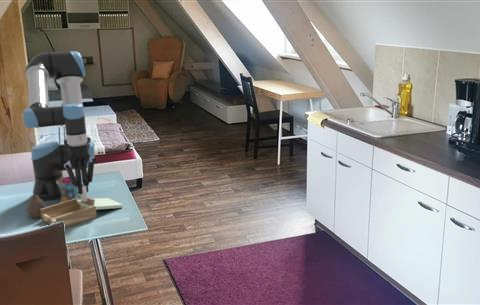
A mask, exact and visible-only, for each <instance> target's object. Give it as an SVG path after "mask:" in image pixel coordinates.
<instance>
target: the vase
mask: <svg viewBox="0 0 480 305" xmlns="http://www.w3.org/2000/svg"><path fill="white" fill-rule="evenodd" d="M45 207H47V205H46V204H45V201H44V200H41V199H40V198H39V197H38V196H37V195H34V196H33V195H32V196H31V197H30V200H29V201H28V202H27V205H26V212H27V214H28V216H29V217H30V218H32V219H36V220H37V219H42V218H41V211H40V209H42V208H45Z"/></svg>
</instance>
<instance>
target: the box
mask: <svg viewBox="0 0 480 305" xmlns="http://www.w3.org/2000/svg"><path fill="white" fill-rule="evenodd" d="M76 200H79V198H75V199H72V200H69V201H65V202H62V203H60V202H59V203H55V204H53V205H49V206H46V207H45V208H42V209H40V211H41V218H40V219H41V221H42V222H44V223H45V224H47V225H48V224H52V223H56V222H60V221H64V224H65V229H67V227H68V228H70V226H71V227H73V225H74V226H75V225H79V224H82V223H85V222H88V221H91V220H93V218H94V219H96V217H98V216H97V210H96V206H92V207H89V208H85V207H84V206H82V205H80V204H78V203H76Z"/></svg>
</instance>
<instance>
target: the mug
mask: <svg viewBox="0 0 480 305" xmlns="http://www.w3.org/2000/svg"><path fill="white" fill-rule="evenodd" d="M63 177H64V178H60V179H58V180H57V181H56V183H57V185H58V186H59V188H60V191H61V198H60V202H59V203H62V202H65V201H69V200H72V199H75V198H79V200H81V196H79V195H80V194H79V193H78V188H77V186H74V185H72V183H71V180H70V178H69V176H63ZM75 178H76V176H75Z"/></svg>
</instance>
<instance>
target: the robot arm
mask: <svg viewBox="0 0 480 305" xmlns="http://www.w3.org/2000/svg"><path fill="white" fill-rule="evenodd" d="M24 72H25V73H24V74H25V79H26V80H27V84H28V86H27V87H28V88H27V89H28V107H29V108H25V109H24V110H23V111H22V112H23V113H22V115H23V122H24V126H25V128H27V129H32V128H33V129H39V128H46V127H58V126H64V128H65V136H66V137H65V138H64V139H63V144H60V143H59V141H46V142H43V143H40V144H37V145H35V146H33V148H32V149H31V151H30V152H31V155H30V156H31V161H32V167H33V168H32V169H33V175H34V183H33V184H34V185H33V190H32V196H34V195H37V196H38V197H39V198H40V199H41V200H43V201H50V200H57V199H61V191H60V188H59V186H58V185H57V183H56V181H57V180H58V179H60V178H64V177H65V176H64V174H63V171H66V173H67V174H68V177H69V178H70V180H71V183H72V185H74V186H77V190H78V193H79V194H78V195H80V199H81V201H83V202H86V201H88V199H87V196H88V192H89V185H90V183H92V182H93V177H94V168H95V163H96V161H97V158H95V148H96V147H95V141H94V140H93V141H92V140H91V137H90V136H89V135H88V134H87V128H86V116H85V109H84V105H83V96H82V90H81V83H82V82H83V81H84V79H83V78H84V77H85V76H87V75H86V69H85V65H84V61H83V57H82V54H80V52H78V51H76V50H74V51H72V50H71V51H69V50H67V51H53V52H51V51H49V52H48V51H47V52H40V53H39V54H36V55H35V56H34V57H32V58H31V60H29V62H28V63H27V65H26V67H25V70H24ZM49 79H55V81H56V83H57V84H58V85H59V87H60V93H61V104H62V105H61V106H50V101H49V100H50V99H49V88H48V80H49ZM73 170H74V172H73ZM75 177H76V178H75Z"/></svg>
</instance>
